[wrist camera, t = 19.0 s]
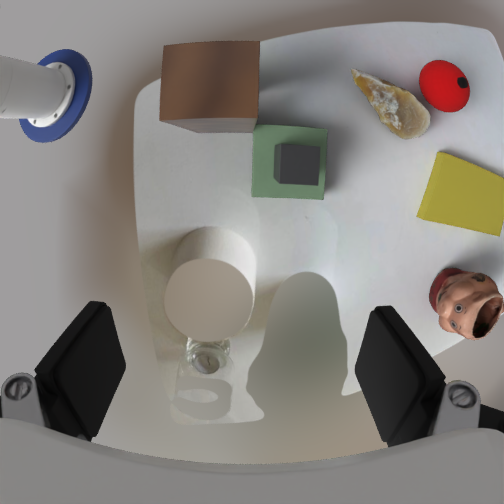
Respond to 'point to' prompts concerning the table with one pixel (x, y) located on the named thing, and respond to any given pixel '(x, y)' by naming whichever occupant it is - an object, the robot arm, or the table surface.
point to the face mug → (466, 302)
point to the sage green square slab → (264, 160)
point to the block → (296, 164)
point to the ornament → (444, 86)
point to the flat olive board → (463, 196)
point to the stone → (394, 105)
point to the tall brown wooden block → (211, 86)
